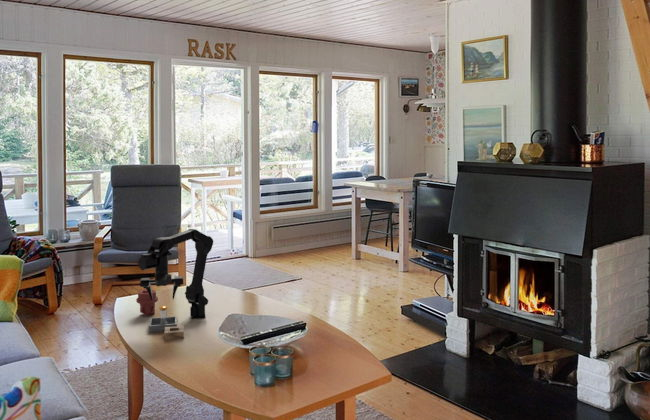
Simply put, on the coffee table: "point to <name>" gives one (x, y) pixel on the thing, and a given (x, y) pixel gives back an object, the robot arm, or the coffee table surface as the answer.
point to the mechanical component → (147, 302)
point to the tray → (157, 327)
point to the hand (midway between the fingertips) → (162, 299)
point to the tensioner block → (174, 332)
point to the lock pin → (163, 315)
